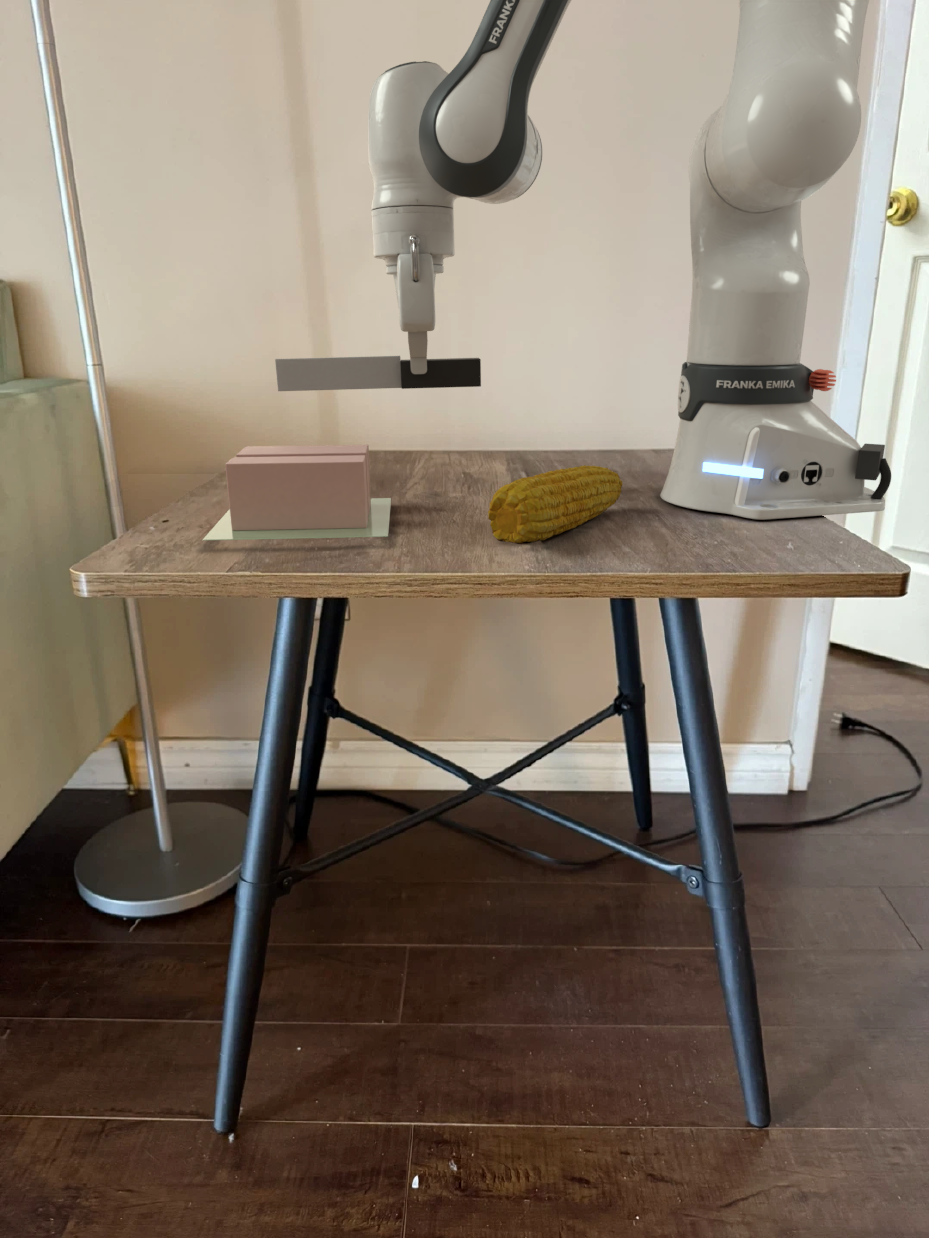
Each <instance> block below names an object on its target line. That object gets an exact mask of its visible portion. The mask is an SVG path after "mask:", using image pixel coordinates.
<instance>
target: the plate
mask: <svg viewBox="0 0 929 1238" xmlns="http://www.w3.org/2000/svg"><path fill="white" fill-rule="evenodd" d="M391 506H392V498H391V497H371V506H370V512H369V515H368V523H367V528H343V529H293V530H243V531H232V526H231V516H230V508H229V509H228V510H227V511H226V512H225V513H224V514H223V515H222V517H221V518H220V519H219V520H218V521H217V522H216V524H215V525H214V526H213V527H212V528H211V529H210V530H209V532H208V533H206V535H205V536H204V537H203V538H202V541H235V540H236V541H238V540H239V541H240V540H243V541H244V540H284V539H285V540H288V539H289V540H290V539H293V540H294V539H335V538H339V539H342V538H378V537H379V538H386V537H389V532H390V531H389V529H390V517H391V508H392V507H391Z"/></svg>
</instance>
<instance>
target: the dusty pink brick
mask: <svg viewBox="0 0 929 1238" xmlns="http://www.w3.org/2000/svg"><path fill="white" fill-rule="evenodd" d="M224 467H225V475H226V484H227V496H228V505H229V506H228V507H229V509H230V516H231V526H232V531H243V530H293V529H343V528H367V523H368V502H367V479H366V457H365V455H348V456H282V457H236V456H233V457H232V458H230V459H229V460H228V461H227V462H226V463H225V465H224Z"/></svg>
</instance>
